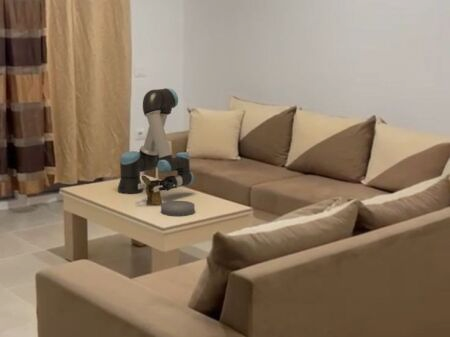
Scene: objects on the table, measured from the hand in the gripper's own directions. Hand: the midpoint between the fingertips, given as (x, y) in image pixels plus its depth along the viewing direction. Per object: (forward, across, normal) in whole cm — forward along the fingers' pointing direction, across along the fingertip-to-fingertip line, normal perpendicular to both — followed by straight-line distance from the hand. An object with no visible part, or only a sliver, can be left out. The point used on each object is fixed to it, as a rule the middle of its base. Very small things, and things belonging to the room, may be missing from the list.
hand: (146, 188), depth 414 cm
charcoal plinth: (-2, -22, -10) cm, 24 cm away
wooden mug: (-4, 0, -10) cm, 11 cm away
